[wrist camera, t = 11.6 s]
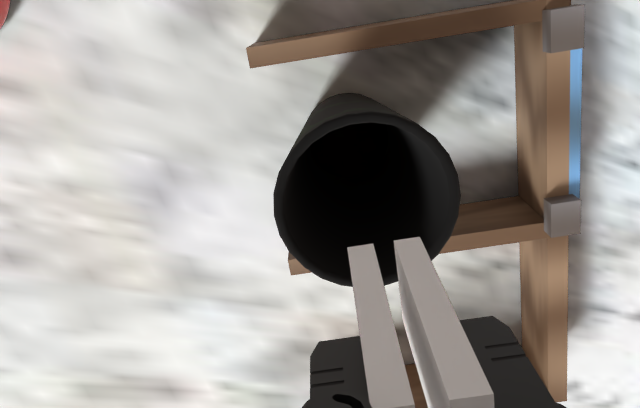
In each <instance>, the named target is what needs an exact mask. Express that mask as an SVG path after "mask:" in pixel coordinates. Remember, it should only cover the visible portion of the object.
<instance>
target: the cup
mask: <svg viewBox="0 0 640 408" xmlns="http://www.w3.org/2000/svg"><path fill="white" fill-rule="evenodd" d="M460 197H461V194H460V187H459V180H458V174H457V172H456V169H455V167H454V165H453V162H452V160H451V158H450V155H449V154H448V153H447V151H446V150H445V149H444V147H443V146H442V145H441V144H440V142H439V141H438V140H437V139H436V137H434V136H433V135H432V134H430V133H429V132H428V131H426V130H425V129H424V128H422V127H421V126H420V125H418V124H417V123H415V122H413V121H411V120H409V119H408V118H406V117H404V116H402V115H400V114H398V113H396V112H395V111H393V110H391V109H389V108H387V107H385V106H384V105H382V104H380V103H378V102H376V101H374V100H373V99H371V98H368V97H366V96H363V95H360V94H353V93H346V94H338V95H335V96H333V97H330V98H328V99H326V100H325V101H323V102H322V103H320V104H319V105H318V106H317V107H316V108H315V109H314V110H313V112H312V113H311V115H310V117H309V118H308V120H307V122H306V124H305V126H304V127H303V129H302V131H301V133H300V135H299V136H298V138H297V140H296V142H295V144H294V145H293V147H292V149H291V151H290V153H289V154H288V156H287V158H286V160H285V162H284V164H283V166H282V167H281V169H280V171H279V174H278V178H277V182H276V186H275V190H274V217H275V220H276V224H277V228H278V231H279V235H280V237H281V238H282V240H283V242H284V243H285V245H286V247H287V249H288V250H289V252H290V253H291V254H292V255H293V256H294V257H295V258H296V259H297V260H298V262H299V263H300V264H301V265H302V266H303V267H304V268H306V269H308V270H309V271H311V272H312V273H314V274H315V275H317V276H319V277H320V278H322V279H325V280H328V281H330V282H333V283H336V284H339V285H343V286H351V287H353V284H352V277H351V270H350V264H349V257H348V250H347V247H353V246H360V245H367V244H373V245H374V249H375V252H376V256H377V260H378V264H379V268H380V272H381V276H382V280H383V283H384V286H385V285H388V284H391V283H394V282H397V281H398V274H397V265H396V257H395V248H394V240H401V239H408V238H414V237H420V238H421V240H422V242H423V245H424V247H425V249H426V251H427V253H428V255H429V257H430V259H431V261H432V260H433V259H434V258H435V257H436V256H437V255H438V254H439V253H440V251H441V250H442V248H443V247H444V245H445V244H446V243H447V241H448V240H449V238H450V237H451V234H452V232H453V229H454V226H455V224H456V221H457V219H458V215H459V206H460Z"/></svg>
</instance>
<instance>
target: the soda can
mask: <svg viewBox="0 0 640 408" xmlns="http://www.w3.org/2000/svg"><path fill="white" fill-rule="evenodd" d="M9 7H10V0H0V29H1V27H2V26H3V24H4V22H5V20H6V17H7V14H8V11H9Z"/></svg>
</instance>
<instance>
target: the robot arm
mask: <svg viewBox="0 0 640 408" xmlns="http://www.w3.org/2000/svg"><path fill="white" fill-rule="evenodd" d="M394 248H395V257H396V265H397V274H398V282H399V291H400V299H401V308H402V317H403V323H404V326H405V330H406V333H407V336H408V340H409V343H410V347H411V350H412V354H413V357H414V361H415V364H416V368H417V371H418V374H419V378H420V381H421V385H422V388H423V392H424V395H425V399H426V402H427V406H428V408H566V407H565V406H563V405H561V404H558V403H556V402H555V401H554V399H553V398H552V396H551V394H550V393H549V391H548V389H547V388H546V386H545V385H544V383H543V381H542V380H541V378H540V376H539V375H538V373H537V372H536V370H535V368H534V367H533V365H532V364H531V362H530V360H529V359H528V357H526V354H525V352H524V351H523V349H522V347H521V346H520V345H519V344H518V341H517V339H516V338H515V336H514V334H513V333H512V331H511V329H510V328H509V327H508V326H507V325H505V324H504V323H502V322H501V321H499V320H498V319H496V318H495V317H493V316H489V317H482V318H474V319H467V320H460V321H459V319H458V317H457V315H456V313H455V310H454V308H453V306H452V304H451V302H450V300H449V298H448V296H447V293H446V291H445V289H444V287H443V285H442V283H441V281H440V279H439V276H438V274H437V272H436V270H435V268H434V266H433V264H432V262H431V259H430V257H429V255H428V253H427V251H426V249H425V247H424V245H423V242H422V240H421V238H420V237H414V238H408V239H401V240H394ZM347 250H348V257H349V264H350V270H351V277H352V284H353V291H354V298H355V305H356V312H357V319H358V326H359V333H360V336H356V337H349V338H342V339H335V340H328V341H321V342H319V343H318V344H317V346H316V348H315V349H314V351H313V353H312V355H311V356H310V373H311V375H310V387H311V388H310V400H308V401H307V402H306V403H305V404H304V406H303V407H302V408H415V404H414V400H413V396H412V392H411V388H410V384H409V380H408V377H407V373H406V369H405V365H404V361H403V357H402V353H401V349H400V346H399V342H398V338H397V334H396V330H395V326H394V322H393V318H392V315H391V311H390V307H389V303H388V299H387V295H386V291H385V287H384V283H383V280H382V276H381V272H380V268H379V264H378V260H377V256H376V252H375V249H374V245H373V244H367V245H360V246H353V247H347Z"/></svg>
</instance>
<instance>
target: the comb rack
mask: <svg viewBox="0 0 640 408" xmlns="http://www.w3.org/2000/svg"><path fill="white" fill-rule="evenodd" d="M584 20H585V5H571V0H512V1H506V2H500V3H494V4H488V5H481V6H475V7H469V8H463V9H457V10H451V11H445V12H439V13H433V14H427V15H421V16H415V17H409V18H402V19H396V20H390V21H384V22H378V23H372V24H366V25H360V26H354V27H348V28H342V29H336V30H330V31H324V32H317V33H311V34H305V35H299V36H293V37H287V38H281V39H275V40H269V41H263V42H257V43H254V44H252V45H251V46H249V47H247V48H246V50H247V55H248V60H249V65H250V68H255V67H261V66H268V65H274V64H280V63H286V62H292V61H298V60H304V59H311V58H317V57H323V56H329V55H335V54H341V53H347V52H354V51H360V50H366V49H372V48H378V47H384V46H391V45H397V44H403V43H409V42H415V41H421V40H427V39H434V38H440V37H446V36H452V35H458V34H464V33H470V32H477V31H483V30H489V29H495V28H501V27H507V26H513V25H514V42H515V82H516V121H517V161H518V196H514V197H507V198H500V199H494V200H487V201H480V202H474V203H467V204H460V206H459V215H458V219H457V221H456V224H455V226H454V229H453V232H452V234H451V237H450V238H449V240H448V241H447V243H446V244H445V245H444V247H443V248H442V250H441V251H440V253H439V254H441V253H448V252H455V251H462V250H469V249H475V248H482V247H489V246H496V245H503V244H510V243H517V242H520V280H521V320H522V349H523V351H524V352H525V354H526V357H528V359H529V360H530V362H531V364H532V365H533V367H534V368H535V370H536V372H537V373H538V375H539V376H540V378H541V380H542V381H543V383H544V385H545V386H546V388H547V389H548V391H549V393H550V394H551V396H552V398H553V399H554V401H555V402H562V401H567V322H568V235H574V234H580V227H581V200H580V147H581V93H582V48H584ZM288 263H289V268H290V273H291V275H297V274H304V273H310V272H311V271H309V270H308V269H306V268H304V267H303V266H302V265H301V264H300V263H299V262H298V260H297V259H296V258H295V257H294V256H293V255H292V254H291V253H290V252H289V255H288ZM405 369H406V373H407V377H408V380H409V384H410V388H411V392H412V396H413V400H414V404H415V408H428V406H427V402H426V399H425V395H424V392H423V388H422V385H421V381H420V378H419V374H418V371H417V368H416V364H409V365H405Z"/></svg>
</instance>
